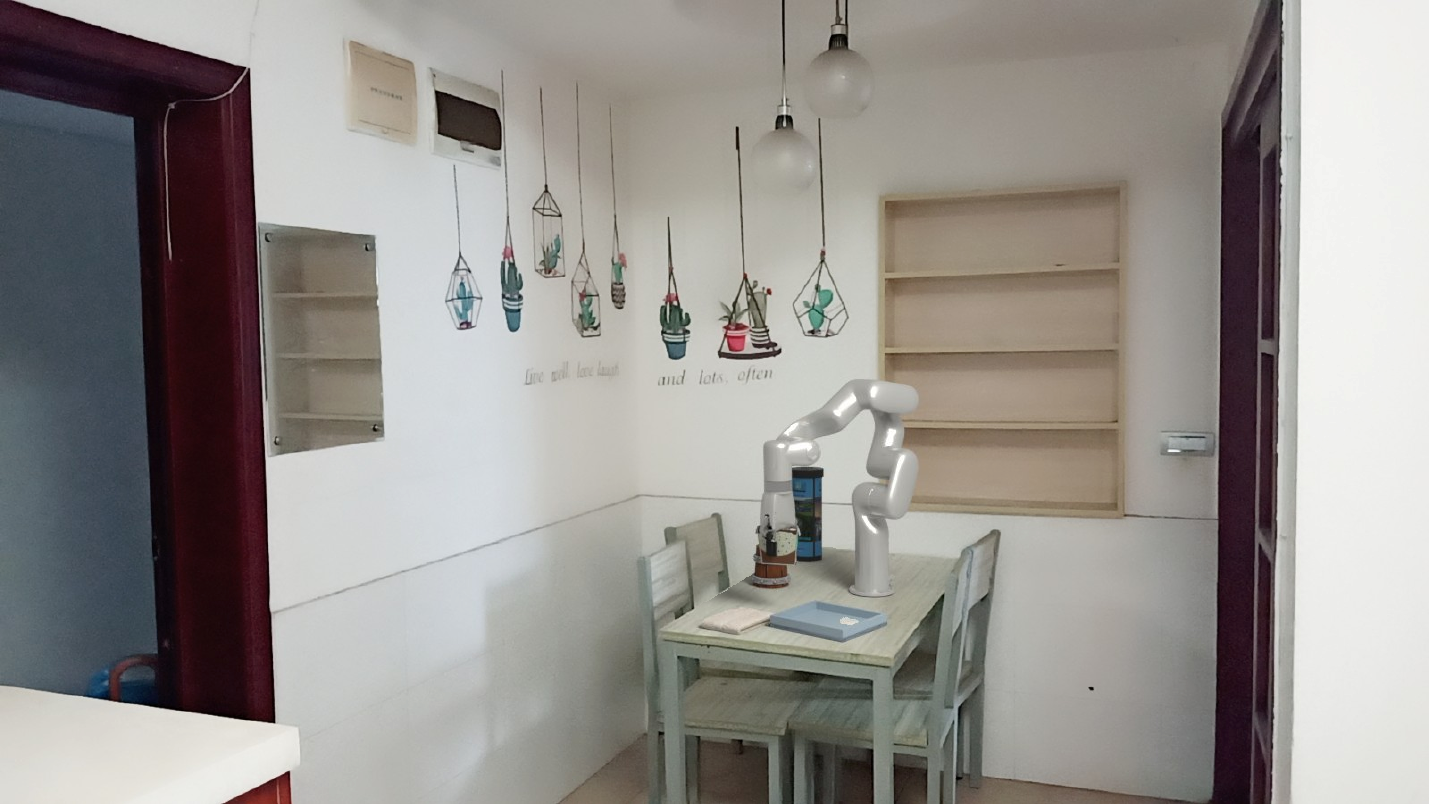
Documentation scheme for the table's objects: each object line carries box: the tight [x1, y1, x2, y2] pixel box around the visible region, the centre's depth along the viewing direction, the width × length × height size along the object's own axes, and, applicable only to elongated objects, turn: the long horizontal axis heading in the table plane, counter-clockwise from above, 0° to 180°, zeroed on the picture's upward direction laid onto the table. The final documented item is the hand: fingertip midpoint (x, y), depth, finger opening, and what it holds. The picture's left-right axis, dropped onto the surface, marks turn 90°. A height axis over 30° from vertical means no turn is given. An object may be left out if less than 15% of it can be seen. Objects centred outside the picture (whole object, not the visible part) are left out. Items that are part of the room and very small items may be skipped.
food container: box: [755, 524, 801, 566], centre depth 283 cm, size 12×6×10 cm, turn 68°
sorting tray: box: [769, 599, 888, 643], centre depth 268 cm, size 20×22×3 cm
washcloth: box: [701, 606, 776, 636], centre depth 270 cm, size 12×18×3 cm, turn 144°
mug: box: [751, 543, 792, 590], centre depth 315 cm, size 12×14×15 cm
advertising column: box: [792, 466, 825, 563], centre depth 351 cm, size 11×11×30 cm
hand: (779, 553), depth 282 cm, fingers closed on food container, 6 cm apart
